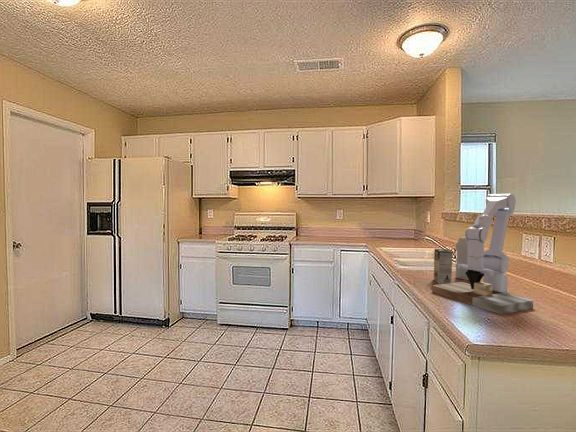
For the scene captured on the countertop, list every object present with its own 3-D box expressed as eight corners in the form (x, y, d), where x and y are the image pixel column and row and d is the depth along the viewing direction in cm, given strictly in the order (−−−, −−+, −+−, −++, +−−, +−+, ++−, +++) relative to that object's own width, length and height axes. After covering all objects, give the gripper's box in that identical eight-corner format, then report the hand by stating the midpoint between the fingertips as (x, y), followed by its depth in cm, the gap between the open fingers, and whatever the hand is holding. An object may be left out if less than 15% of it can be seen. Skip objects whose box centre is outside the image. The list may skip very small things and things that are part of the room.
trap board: (461, 288, 144) (461, 281, 144) (533, 308, 116) (533, 300, 116) (432, 292, 137) (432, 285, 137) (501, 314, 109) (501, 306, 109)
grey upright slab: (478, 279, 160) (479, 237, 160) (477, 281, 157) (478, 238, 156) (455, 276, 167) (456, 236, 166) (453, 278, 164) (455, 236, 163)
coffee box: (433, 279, 161) (433, 248, 160) (446, 280, 160) (447, 249, 159) (438, 283, 152) (438, 251, 151) (452, 284, 151) (453, 251, 150)
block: (481, 291, 128) (481, 281, 127) (492, 294, 123) (492, 284, 123) (473, 292, 126) (474, 282, 126) (484, 295, 122) (484, 285, 122)
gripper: (453, 254, 133) (452, 285, 133) (485, 259, 119) (484, 294, 120) (464, 253, 135) (463, 284, 136) (498, 258, 122) (496, 293, 123)
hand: (474, 289), depth 128 cm, fingers closed
